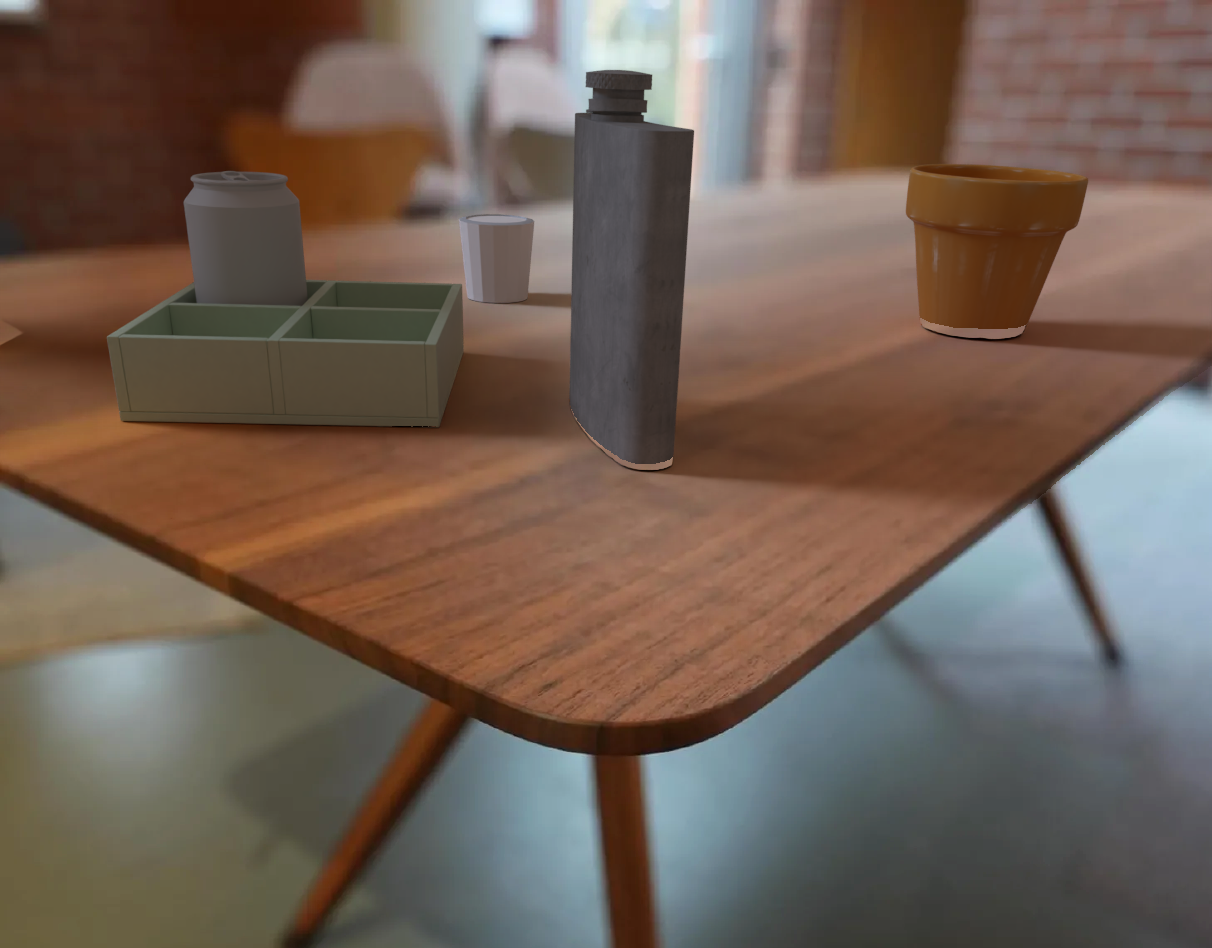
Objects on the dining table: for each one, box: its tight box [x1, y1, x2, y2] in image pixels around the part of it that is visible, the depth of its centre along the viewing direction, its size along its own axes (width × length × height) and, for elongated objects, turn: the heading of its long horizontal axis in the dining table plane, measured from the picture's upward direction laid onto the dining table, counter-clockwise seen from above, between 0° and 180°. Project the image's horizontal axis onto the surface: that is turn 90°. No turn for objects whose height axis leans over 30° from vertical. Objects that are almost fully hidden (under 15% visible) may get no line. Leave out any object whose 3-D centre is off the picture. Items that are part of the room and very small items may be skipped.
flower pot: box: [905, 163, 1089, 329], centre depth 95 cm, size 14×14×13 cm
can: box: [183, 170, 308, 306], centre depth 77 cm, size 8×8×12 cm
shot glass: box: [458, 213, 535, 304], centre depth 103 cm, size 7×7×7 cm
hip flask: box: [568, 69, 695, 464], centre depth 64 cm, size 16×4×20 cm, turn 14°
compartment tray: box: [106, 279, 465, 428], centre depth 75 cm, size 19×19×5 cm
